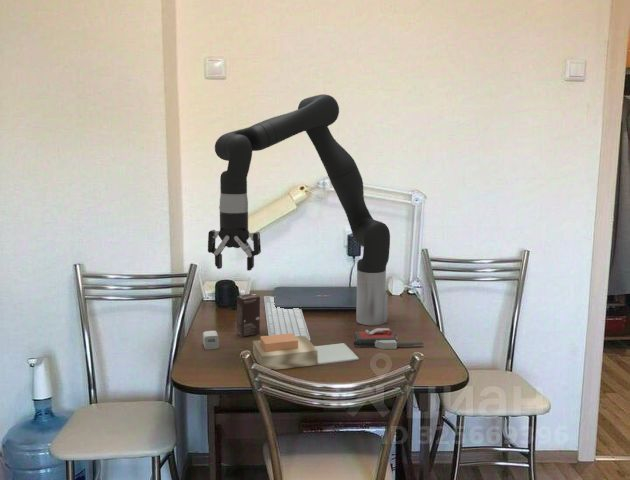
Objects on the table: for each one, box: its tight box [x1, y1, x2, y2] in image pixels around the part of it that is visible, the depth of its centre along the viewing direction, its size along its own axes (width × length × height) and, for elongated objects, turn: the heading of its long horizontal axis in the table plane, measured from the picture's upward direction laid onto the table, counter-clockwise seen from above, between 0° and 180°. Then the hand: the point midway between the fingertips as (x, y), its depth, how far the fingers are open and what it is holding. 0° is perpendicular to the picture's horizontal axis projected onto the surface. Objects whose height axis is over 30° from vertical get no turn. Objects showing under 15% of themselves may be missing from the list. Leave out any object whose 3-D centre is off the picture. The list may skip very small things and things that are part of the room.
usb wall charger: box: [202, 330, 220, 350], centre depth 174 cm, size 4×7×4 cm, turn 16°
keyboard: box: [263, 295, 311, 342], centre depth 198 cm, size 44×12×2 cm, turn 7°
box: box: [236, 293, 261, 338], centre depth 183 cm, size 6×4×12 cm
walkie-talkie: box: [353, 327, 424, 350], centre depth 175 cm, size 9×4×20 cm
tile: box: [259, 333, 298, 352], centre depth 163 cm, size 9×6×2 cm, turn 107°
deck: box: [252, 336, 318, 371], centre depth 164 cm, size 15×12×4 cm
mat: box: [313, 342, 360, 365], centre depth 168 cm, size 12×12×1 cm
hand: (234, 269), depth 164 cm, fingers open, 8 cm apart
